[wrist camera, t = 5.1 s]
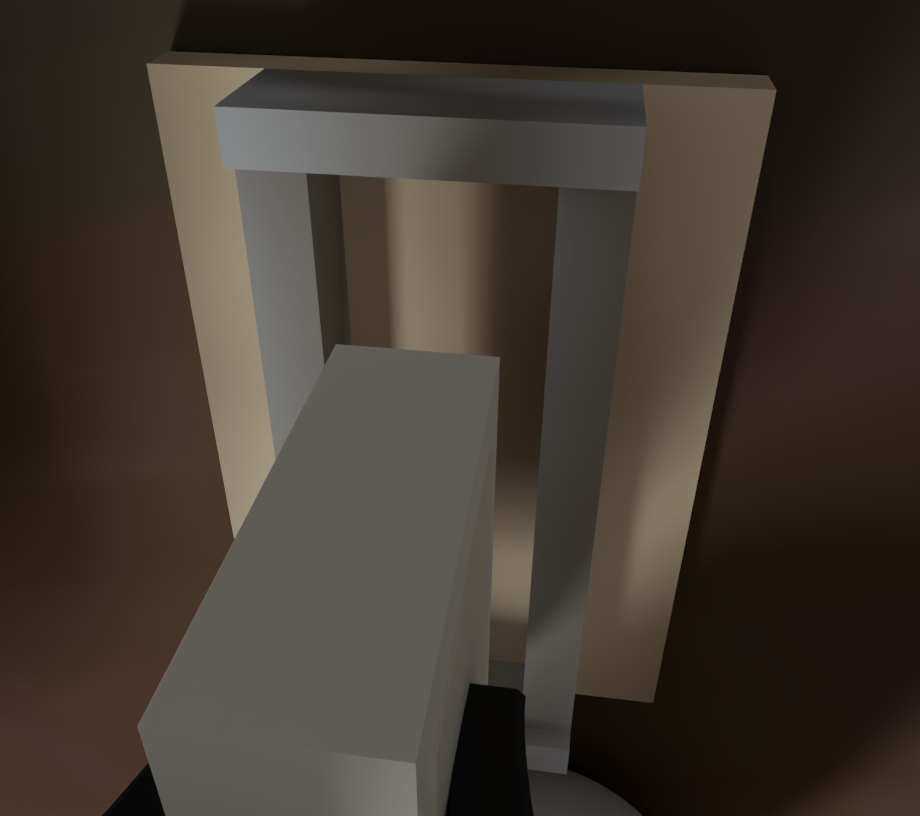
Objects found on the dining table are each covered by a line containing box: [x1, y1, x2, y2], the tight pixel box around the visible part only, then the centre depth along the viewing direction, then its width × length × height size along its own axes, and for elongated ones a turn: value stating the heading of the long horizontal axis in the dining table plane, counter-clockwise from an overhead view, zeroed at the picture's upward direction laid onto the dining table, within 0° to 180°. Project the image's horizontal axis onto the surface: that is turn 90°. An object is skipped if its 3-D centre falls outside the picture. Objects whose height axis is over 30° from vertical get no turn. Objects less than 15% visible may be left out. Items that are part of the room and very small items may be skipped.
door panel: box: [137, 344, 500, 816], centre depth 11 cm, size 2×8×6 cm, turn 0°
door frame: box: [147, 51, 777, 774], centre depth 16 cm, size 9×13×3 cm
